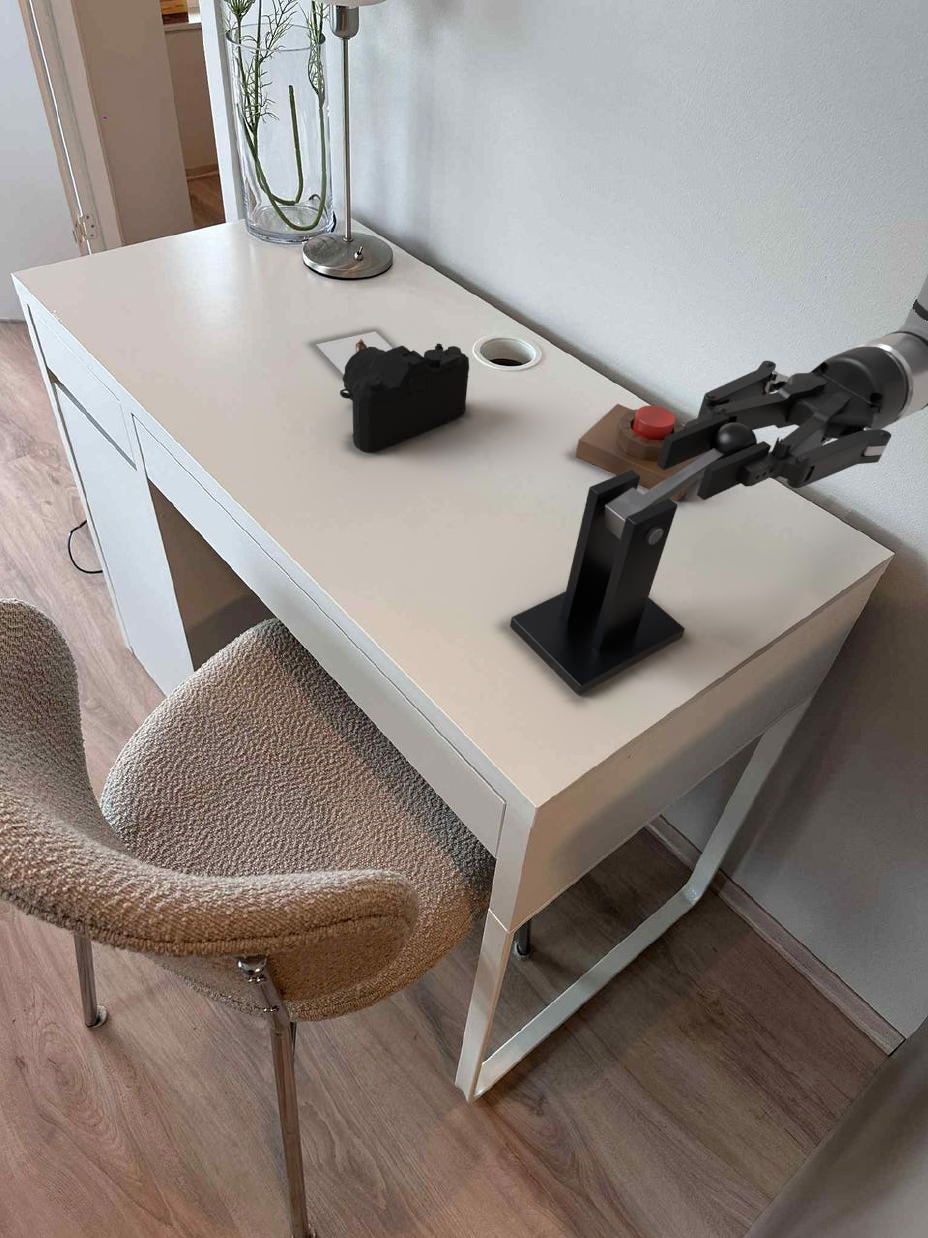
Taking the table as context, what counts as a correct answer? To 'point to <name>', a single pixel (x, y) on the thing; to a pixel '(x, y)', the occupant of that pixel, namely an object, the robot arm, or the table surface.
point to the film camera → (403, 393)
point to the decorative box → (351, 347)
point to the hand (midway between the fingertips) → (684, 468)
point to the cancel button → (653, 422)
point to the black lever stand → (605, 595)
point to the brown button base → (627, 449)
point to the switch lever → (679, 476)
